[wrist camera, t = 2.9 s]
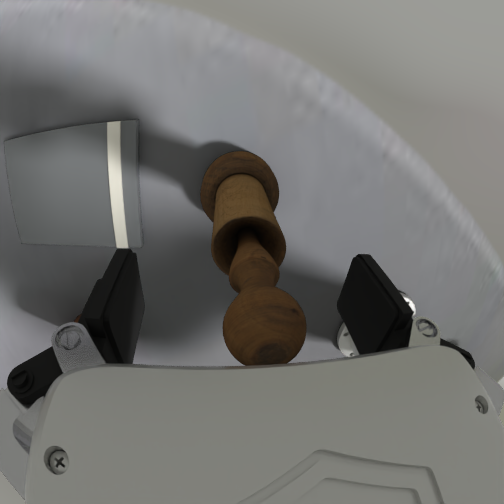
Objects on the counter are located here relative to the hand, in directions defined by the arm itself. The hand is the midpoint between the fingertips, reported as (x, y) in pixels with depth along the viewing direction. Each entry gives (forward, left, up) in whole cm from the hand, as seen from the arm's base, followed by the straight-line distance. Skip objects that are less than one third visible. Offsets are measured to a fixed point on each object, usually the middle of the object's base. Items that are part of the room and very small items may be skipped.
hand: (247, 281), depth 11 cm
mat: (+16, 0, -14) cm, 22 cm away
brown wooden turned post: (-1, 0, -15) cm, 15 cm away
